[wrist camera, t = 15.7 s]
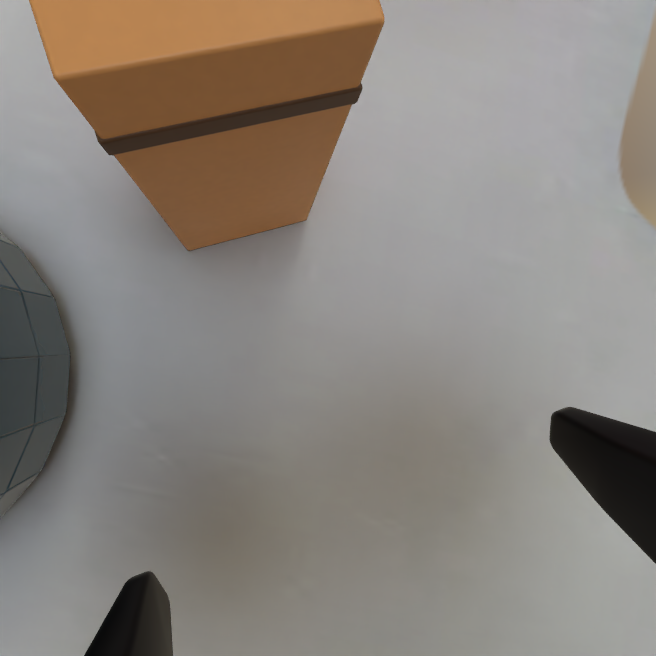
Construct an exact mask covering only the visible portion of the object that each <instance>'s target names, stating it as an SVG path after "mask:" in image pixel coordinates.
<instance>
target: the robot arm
mask: <svg viewBox="0 0 656 656" xmlns="http://www.w3.org/2000/svg"><path fill="white" fill-rule="evenodd" d="M550 443H551V445H552V447H553V449H554V450H555V452H556V453H557V454H558V455H559V456H560V458H561V459H562V460H563V461H564V463H565V464H566V465H567V466H568V468H569V469H570V470H571V471H572V472H573V474H574V475H575V476H576V477H577V479H578V480H579V481H580V482H581V484H582V485H583V486H584V487H585V488H586V490H587V491H588V492H589V493H590V495H591V496H592V497H593V498H594V499H595V501H596V502H597V503H598V504H599V505H600V506H601V508H602V509H603V510H604V511H605V512H606V513H607V514H608V515H609V516H610V517H611V518H612V519H613V520H614V521H615V522H616V523H617V524H618V525H619V526H620V527H621V529H622V530H623V531H624V532H625V533H626V534H627V535H628V536H629V537H630V538H631V539H632V540H633V541H634V542H635V543H636V544H637V545H638V546H639V547H640V548H641V549H642V550H643V551H644V552H645V553H646V554H647V555H648V556H649V557H650V558H651V559H652V560H653V562H654V563H655V564H656V432H653V431H650V430H647V429H643V428H640V427H637V426H633V425H630V424H627V423H623V422H620V421H617V420H613V419H610V418H607V417H603V416H600V415H597V414H593V413H590V412H587V411H583V410H580V409H577V408H573V407H566V408H563V409H561V410H558V411H556V412H554V413H553V414H552V416H551V426H550ZM84 656H173V646H172V628H171V611H170V602H169V598H168V595H167V593H166V592H165V590H164V588H163V587H162V585H161V584H160V582H159V581H158V579H157V578H156V576H155V575H154V574H153V572H151V571H147V572H144V573H141V574H139V575H136V576H134V577H132V578H130V579H129V580H128V581H127V582H126V583H125V584H124V586H123V588H122V590H121V591H120V593H119V595H118V597H117V598H116V600H115V602H114V604H113V606H112V607H111V609H110V611H109V613H108V614H107V616H106V618H105V620H104V621H103V623H102V625H101V627H100V629H99V630H98V632H97V634H96V636H95V637H94V639H93V641H92V643H91V644H90V646H89V648H88V650H87V652H86V653H85V655H84Z"/></svg>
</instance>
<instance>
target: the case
mask: <svg viewBox="0 0 656 656" xmlns="http://www.w3.org/2000/svg"><path fill="white" fill-rule="evenodd" d="M29 2H30V5H31V8H32V11H33V14H34V17H35V21H36V24H37V27H38V30H39V33H40V36H41V39H42V42H43V46H44V49H45V52H46V55H47V58H48V61H49V64H50V67H51V71H52V74H53V77H54V78H55V80H56V81H57V82H58V84H59V85H60V86H61V88H62V89H63V90H64V91H65V93H66V94H67V95H68V97H69V98H70V99H71V100H72V102H73V103H74V104H75V106H76V107H77V108H78V109H79V111H80V112H81V113H82V115H83V116H84V117H85V119H86V120H87V121H88V122H89V124H90V125H91V126H92V128H93V129H94V130H95V133H96V136H97V140H98V142H99V143H100V145H101V146H102V147H103V148H104V150H105V151H106V152H107V153H108V154H109V155H114V156H115V157H116V159H117V160H118V161H119V162H120V164H121V165H122V166H123V168H124V169H125V170H126V171H127V173H128V174H129V175H130V177H131V178H132V179H133V181H134V182H135V183H136V184H137V186H138V187H139V188H140V190H141V191H142V192H143V193H144V195H145V196H146V197H147V199H148V200H149V201H150V202H151V204H152V205H153V206H154V208H155V209H156V210H157V211H158V213H159V214H160V215H161V217H162V218H163V219H164V221H165V222H166V223H167V224H168V226H169V227H170V228H171V230H172V231H173V232H174V233H175V235H176V236H177V237H178V239H179V240H180V241H181V242H182V244H183V245H184V246H185V248H186V249H187V250H188V251H190V250H194V249H198V248H202V247H206V246H209V245H213V244H217V243H221V242H225V241H228V240H232V239H236V238H240V237H244V236H248V235H251V234H255V233H259V232H263V231H267V230H271V229H274V228H278V227H282V226H286V225H290V224H293V223H297V222H301V221H305V220H307V217H308V214H309V212H310V209H311V207H312V204H313V202H314V199H315V197H316V194H317V192H318V189H319V187H320V184H321V182H322V179H323V176H324V174H325V171H326V169H327V166H328V164H329V161H330V159H331V156H332V154H333V151H334V149H335V146H336V143H337V141H338V138H339V136H340V133H341V131H342V128H343V126H344V123H345V121H346V118H347V116H348V113H349V111H350V108H351V105H352V104H355V103H356V102H357V101H358V98H359V96H360V93H361V91H362V84H361V80H362V78H363V75H364V72H365V70H366V67H367V65H368V62H369V60H370V57H371V55H372V52H373V50H374V47H375V45H376V42H377V40H378V37H379V34H380V32H381V29H382V27H383V24H384V14H383V11H382V8H381V4H380V1H379V0H29Z"/></svg>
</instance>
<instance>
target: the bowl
mask: <svg viewBox="0 0 656 656" xmlns="http://www.w3.org/2000/svg"><path fill="white" fill-rule="evenodd" d="M69 354H70V351H69V347H68V344H67V340H66V337H65V333H64V329H63V326H62V322H61V319H60V315H59V312H58V308H57V305H56V301H55V299H54V297H53V295H52V294H51V292H50V291H49V289H48V288H47V286H46V285H45V284H44V282H43V281H42V279H41V278H40V276H39V275H38V274H37V272H36V271H35V269H34V268H33V266H32V265H31V264H30V262H29V261H28V259H27V258H26V256H25V255H24V254H23V252H22V251H21V249H19V247H18V246H17V245H15V244H14V243H13V242H11V241H10V240H9V239H7V238H6V237H5V236H4V235H2V234H1V233H0V519H1V518H2V517H3V515H4V514H5V513H6V512H7V511H8V510H9V508H10V507H11V506H12V505H13V504H14V503H15V501H16V500H17V499H18V498H19V497H20V496H21V494H22V493H23V492H24V491H25V490H26V489H27V487H28V486H29V485H30V484H31V483H32V482H33V480H34V479H35V478H36V477H37V476H38V475H39V473H40V470H42V469H43V466H44V464H45V462H46V459H47V457H48V455H49V452H50V450H51V448H52V445H53V443H54V441H55V438H56V436H57V434H58V431H59V429H60V426H61V424H62V422H63V419H64V417H65V413H66V410H67V396H68V382H69V367H70V355H69Z"/></svg>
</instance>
